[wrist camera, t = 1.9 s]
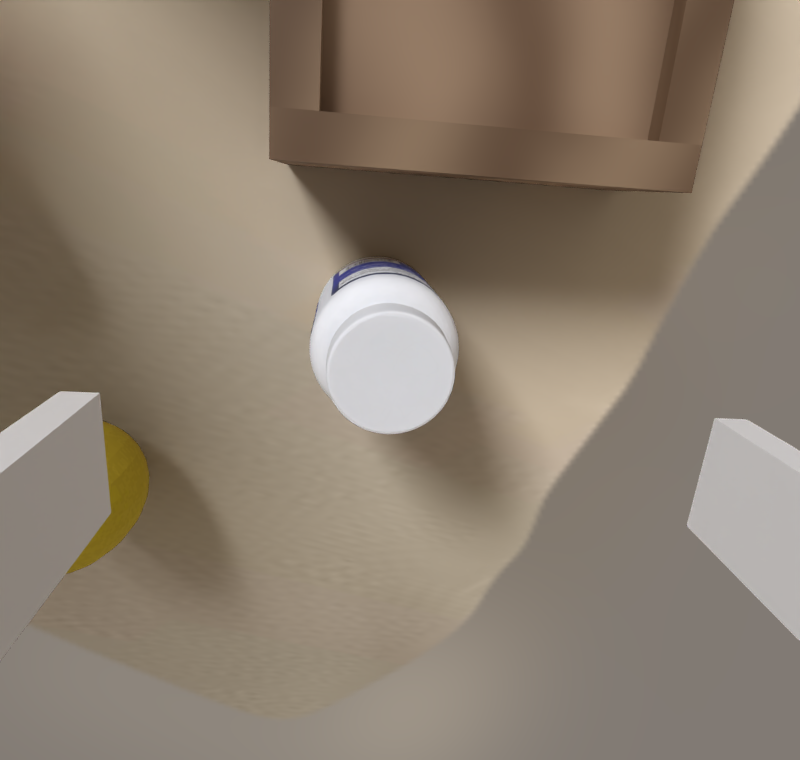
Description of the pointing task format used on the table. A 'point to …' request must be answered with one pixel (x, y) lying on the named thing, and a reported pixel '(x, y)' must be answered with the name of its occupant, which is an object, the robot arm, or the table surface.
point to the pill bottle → (384, 346)
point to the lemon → (118, 494)
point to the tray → (498, 88)
